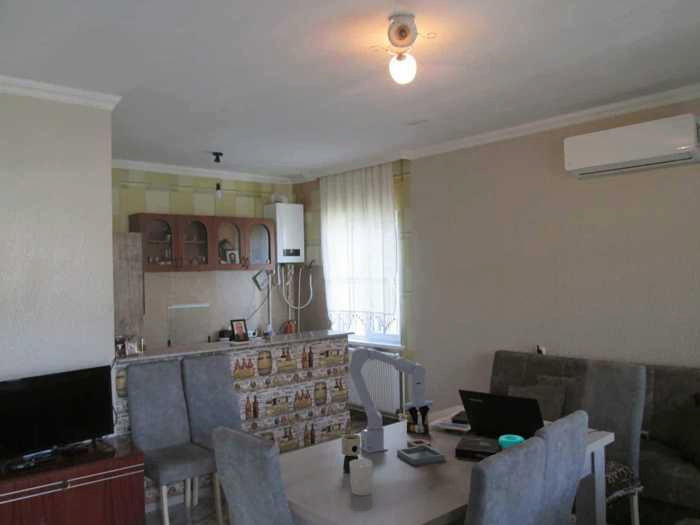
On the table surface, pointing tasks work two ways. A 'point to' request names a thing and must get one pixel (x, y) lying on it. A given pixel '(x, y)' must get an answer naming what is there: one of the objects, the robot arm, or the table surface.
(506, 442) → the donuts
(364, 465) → the white cup
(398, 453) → the tray
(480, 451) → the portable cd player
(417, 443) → the pin block
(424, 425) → the ammunition clip
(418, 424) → the steel pin
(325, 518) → the table surface
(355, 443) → the character mug
